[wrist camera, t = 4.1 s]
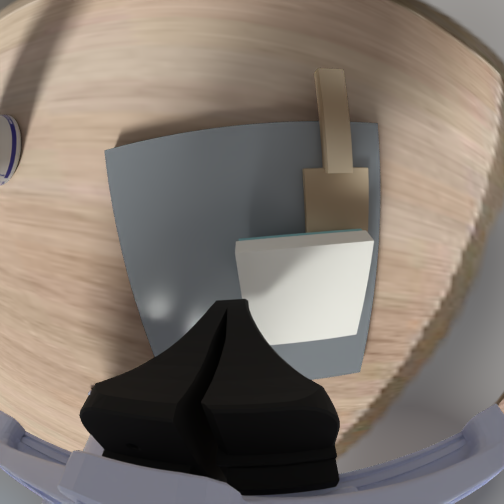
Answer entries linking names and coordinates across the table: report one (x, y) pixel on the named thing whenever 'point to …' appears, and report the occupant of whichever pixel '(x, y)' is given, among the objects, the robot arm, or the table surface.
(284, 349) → the board
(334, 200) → the turner
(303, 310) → the tile
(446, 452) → the robot arm
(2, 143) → the energy drink
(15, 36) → the table surface
